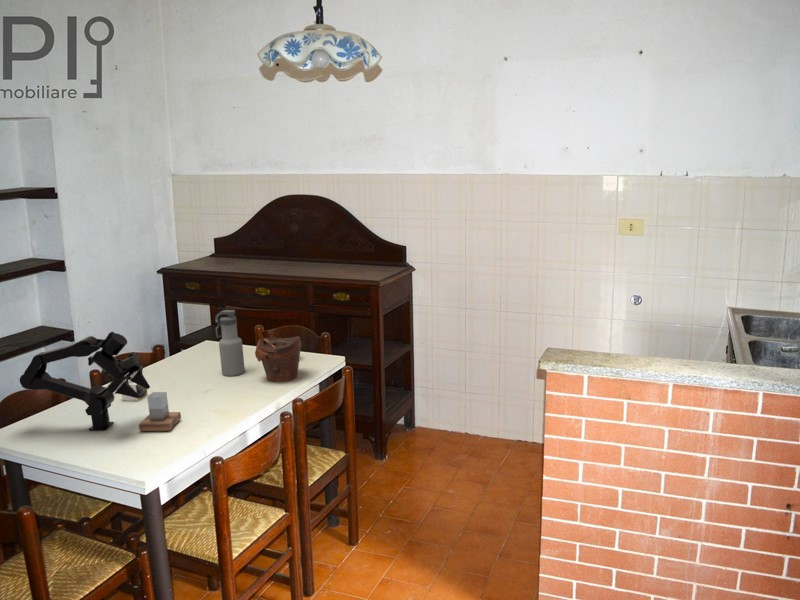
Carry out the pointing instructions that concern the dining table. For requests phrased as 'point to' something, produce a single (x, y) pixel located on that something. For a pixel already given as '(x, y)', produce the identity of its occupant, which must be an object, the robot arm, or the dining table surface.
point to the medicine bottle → (139, 389)
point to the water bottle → (230, 344)
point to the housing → (158, 406)
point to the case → (279, 357)
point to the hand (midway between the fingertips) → (144, 392)
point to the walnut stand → (160, 423)
